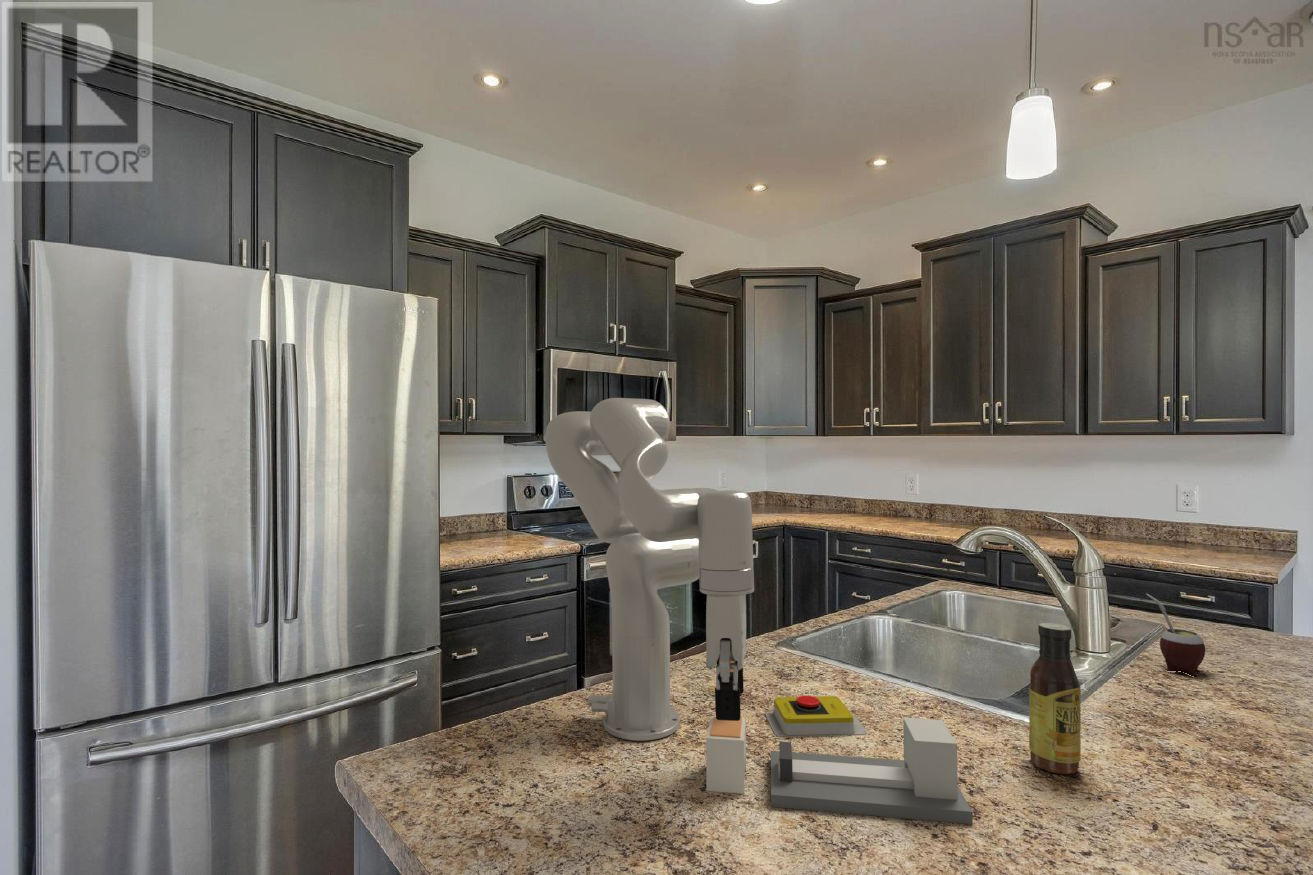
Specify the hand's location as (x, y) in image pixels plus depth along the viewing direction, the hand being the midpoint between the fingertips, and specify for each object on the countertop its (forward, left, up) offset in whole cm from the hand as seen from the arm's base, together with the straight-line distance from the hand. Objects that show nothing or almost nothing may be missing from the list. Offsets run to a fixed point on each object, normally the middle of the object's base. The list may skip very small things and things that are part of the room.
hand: (730, 705), depth 88 cm
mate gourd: (+86, +57, -11) cm, 104 cm away
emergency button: (+13, +21, -11) cm, 27 cm away
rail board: (+17, +1, -10) cm, 20 cm away
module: (-1, +1, -10) cm, 10 cm away
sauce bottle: (+45, +12, -11) cm, 48 cm away
